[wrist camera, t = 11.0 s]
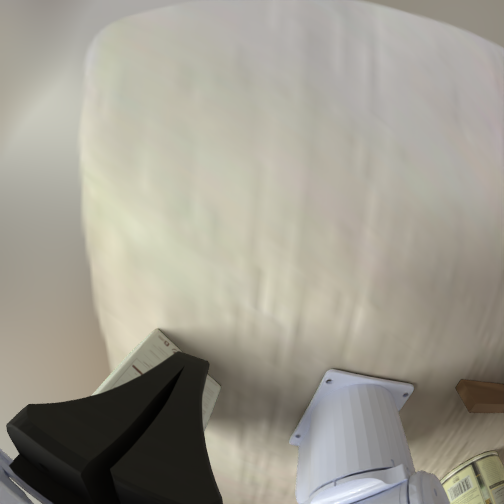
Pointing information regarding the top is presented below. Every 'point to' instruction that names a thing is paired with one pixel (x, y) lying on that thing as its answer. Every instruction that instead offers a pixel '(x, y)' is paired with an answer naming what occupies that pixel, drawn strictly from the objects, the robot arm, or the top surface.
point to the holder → (481, 396)
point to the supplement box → (150, 356)
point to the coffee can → (476, 481)
